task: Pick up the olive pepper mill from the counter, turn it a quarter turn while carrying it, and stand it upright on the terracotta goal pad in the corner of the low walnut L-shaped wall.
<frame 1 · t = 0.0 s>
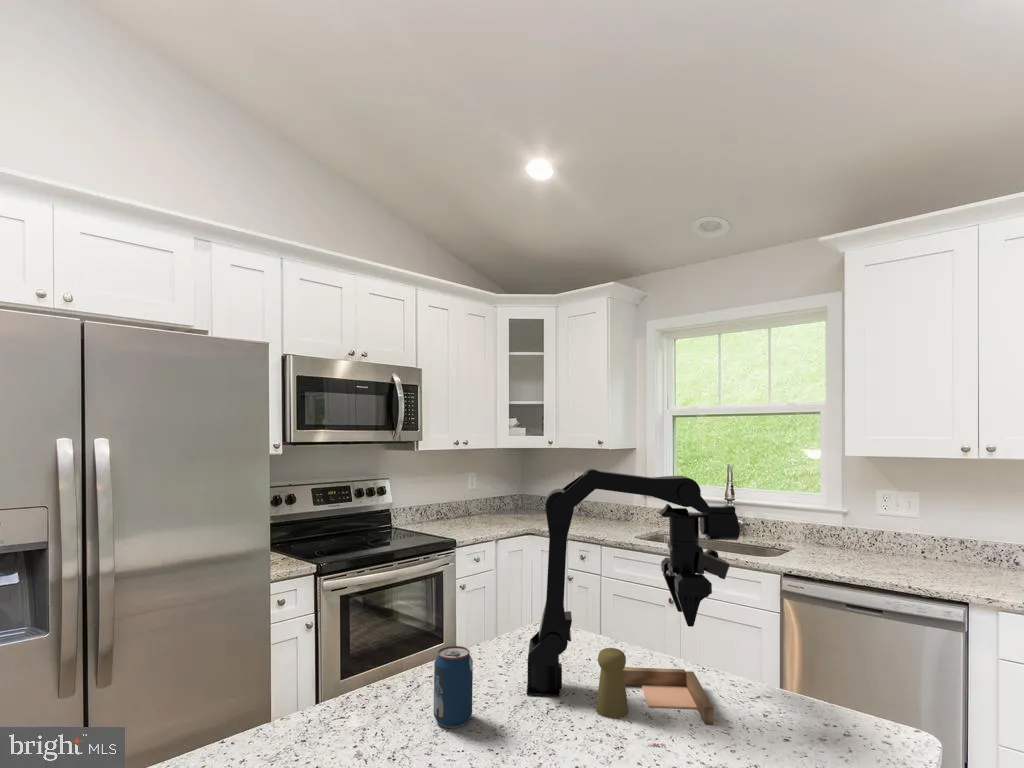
hand: (685, 618, 120), 15 cm above the countertop, tool pointing down, fingers open, 9 cm apart
corner arena: (651, 700, 116), on the countertop
olive pepper mill: (612, 711, 112), on the countertop
soda can: (452, 721, 108), on the countertop
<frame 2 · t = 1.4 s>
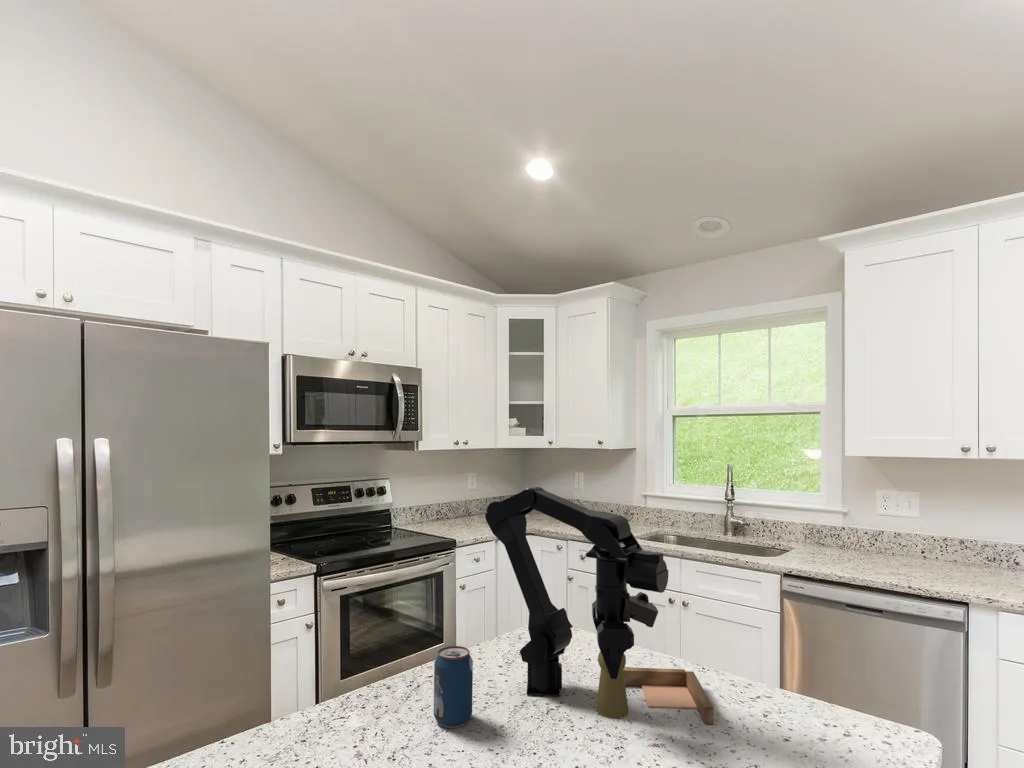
hand: (611, 668, 112), 8 cm above the countertop, tool pointing down, fingers open, 9 cm apart
nothing on the countertop moved.
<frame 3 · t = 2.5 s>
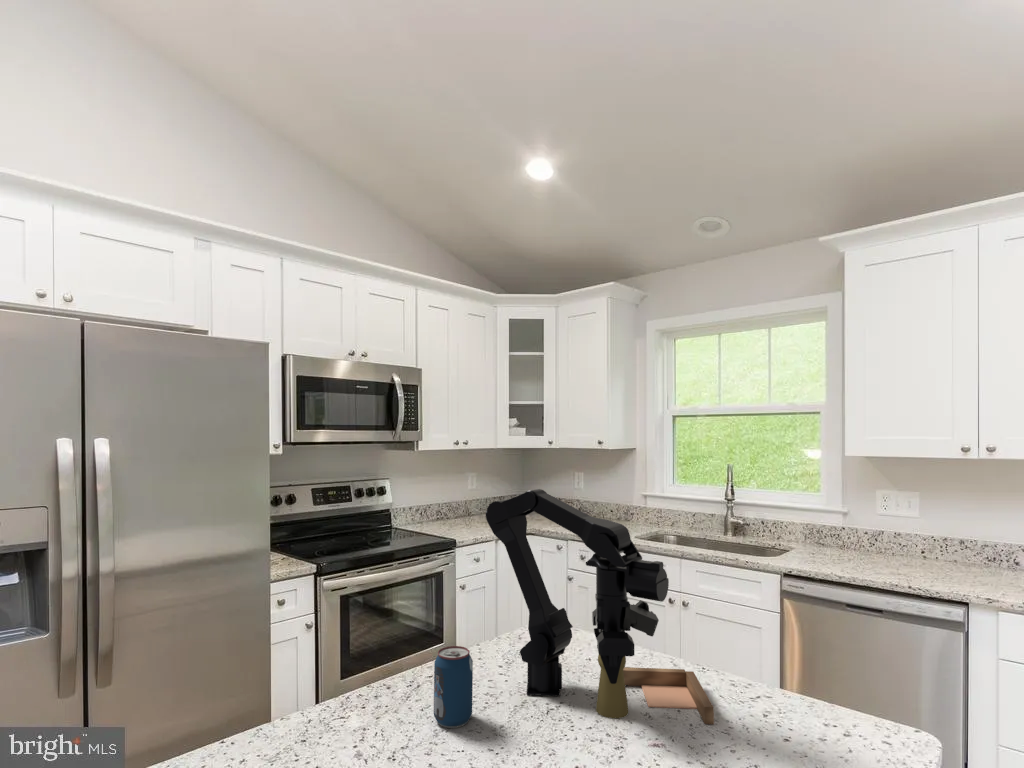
hand: (611, 677, 112), 6 cm above the countertop, tool pointing down, fingers closed on olive pepper mill, 5 cm apart
olive pepper mill: (612, 711, 112), on the countertop, touching gripper
everything else where it was.
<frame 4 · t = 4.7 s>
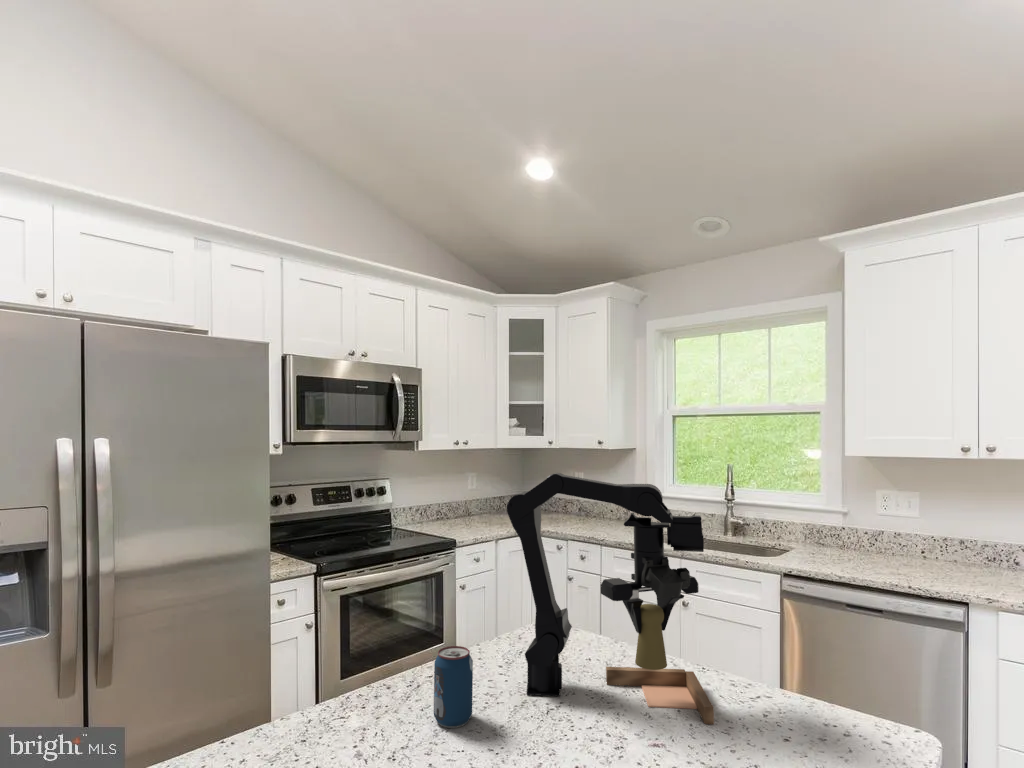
hand: (650, 631, 116), 13 cm above the countertop, tool pointing down, fingers closed on olive pepper mill, 5 cm apart
olive pepper mill: (651, 664, 116), point 7 cm above the countertop, touching gripper
everything else where it was.
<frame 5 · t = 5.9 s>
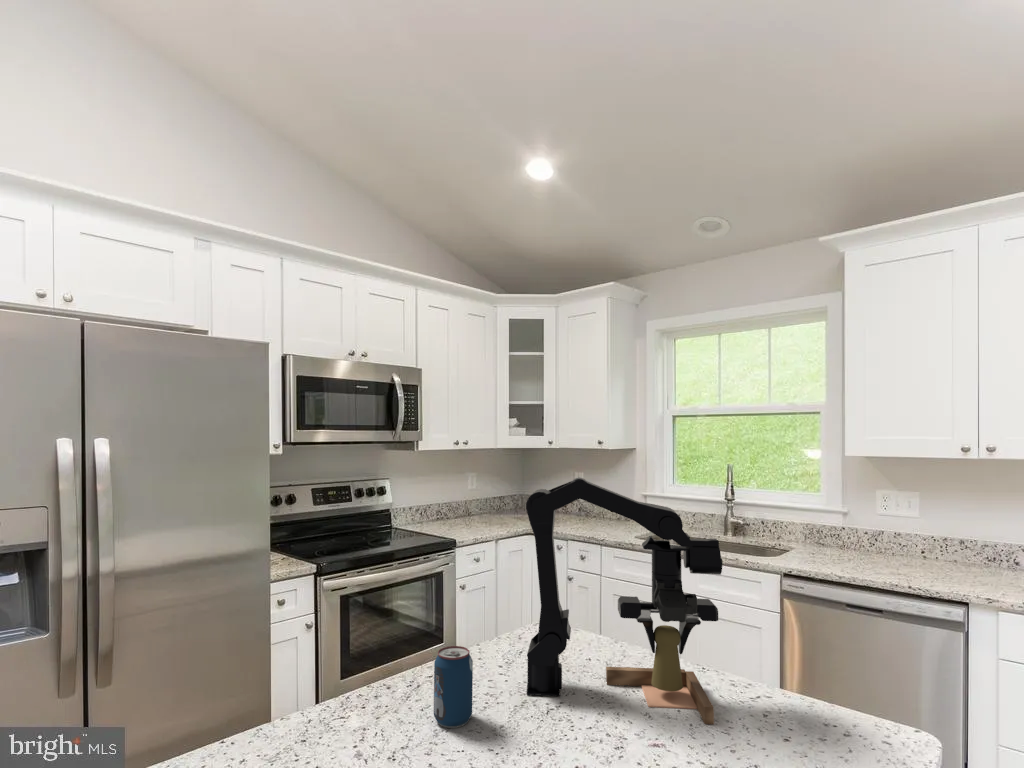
hand: (666, 653, 118), 8 cm above the countertop, tool pointing down, fingers closed on olive pepper mill, 5 cm apart
olive pepper mill: (666, 685, 117), point 2 cm above the countertop, touching gripper
everything else where it was.
when the fingers open (8 cm above the countertop, at t = 6.8 s): olive pepper mill drops 1 cm, resting on corner arena.
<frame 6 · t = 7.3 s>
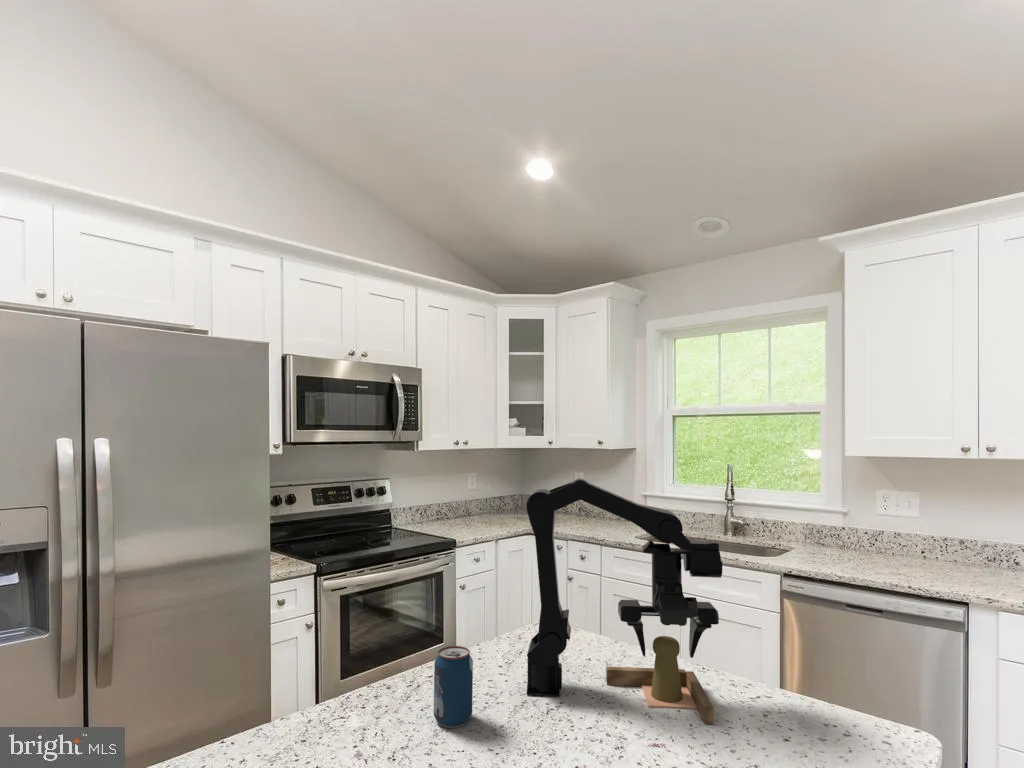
hand: (667, 656, 118), 8 cm above the countertop, tool pointing down, fingers open, 9 cm apart
olive pepper mill: (666, 696, 117), resting on corner arena
everything else where it was.
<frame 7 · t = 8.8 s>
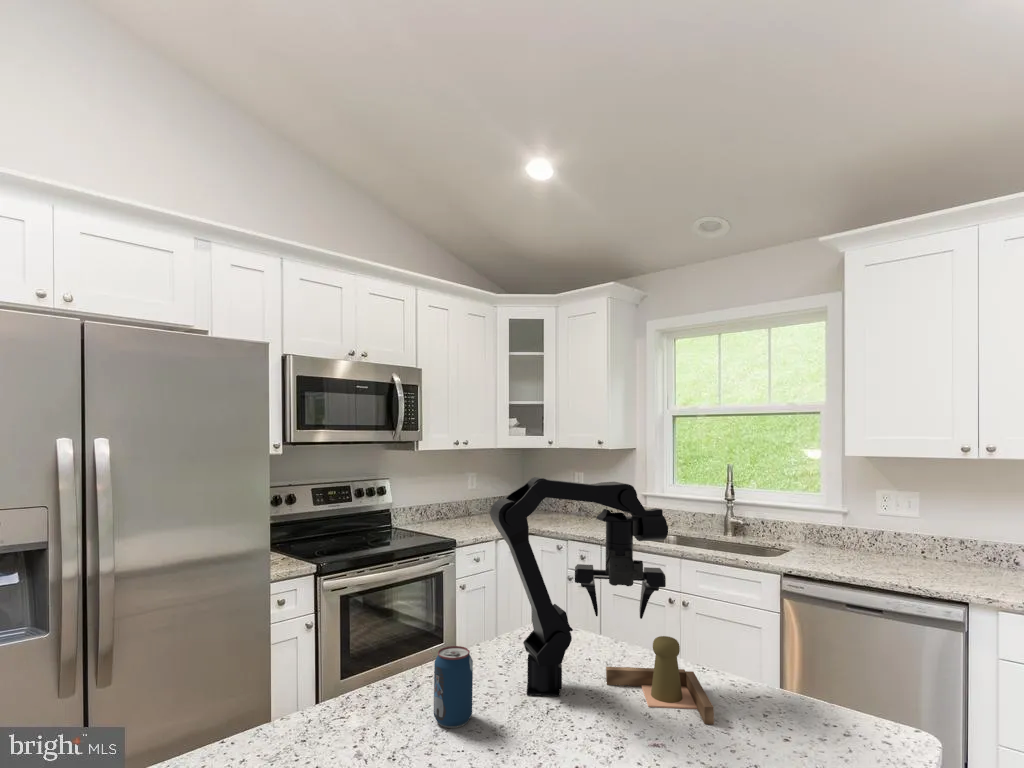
hand: (618, 617, 126), 13 cm above the countertop, tool pointing down, fingers open, 9 cm apart
nothing on the countertop moved.
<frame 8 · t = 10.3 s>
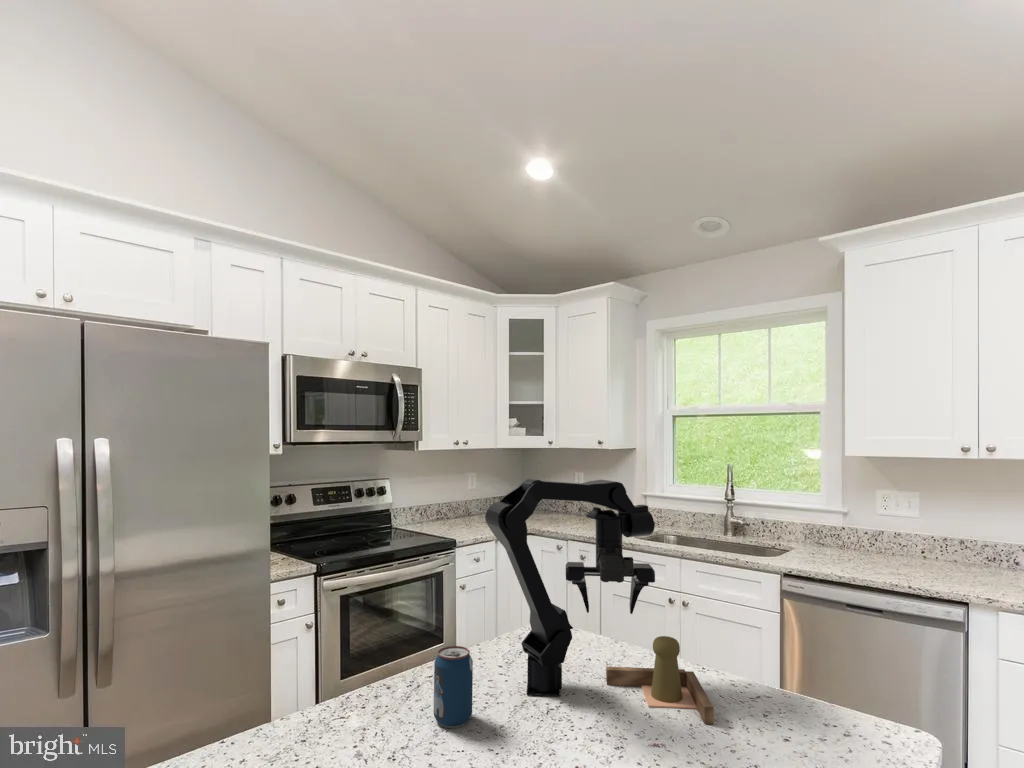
hand: (609, 612, 128), 13 cm above the countertop, tool pointing down, fingers open, 9 cm apart
nothing on the countertop moved.
at the end: olive pepper mill 0.3 cm from the target spot, resting on corner arena; olive pepper mill tilted 0°; the gripper is holding nothing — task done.
